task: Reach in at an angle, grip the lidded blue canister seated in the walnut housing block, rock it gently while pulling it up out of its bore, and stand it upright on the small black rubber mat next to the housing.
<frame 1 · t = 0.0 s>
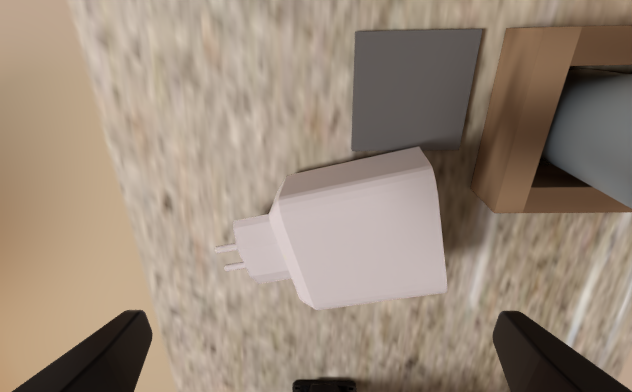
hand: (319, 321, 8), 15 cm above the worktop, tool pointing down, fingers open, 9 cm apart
rubber mat: (409, 94, 20), on the worktop
charger: (322, 220, 24), on the worktop, touching rubber mat
housing block: (566, 116, 20), on the worktop
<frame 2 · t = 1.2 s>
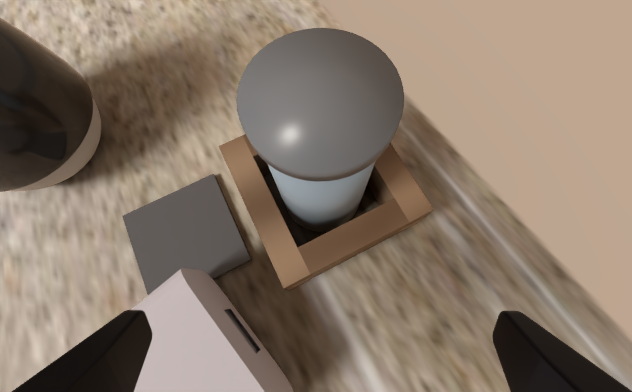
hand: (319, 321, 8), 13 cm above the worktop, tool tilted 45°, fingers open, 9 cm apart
rubber mat: (187, 238, 22), on the worktop
dark egg-shaped device: (62, 148, 25), on the worktop
housing block: (322, 194, 23), on the worktop
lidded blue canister: (321, 160, 17), in the housing block
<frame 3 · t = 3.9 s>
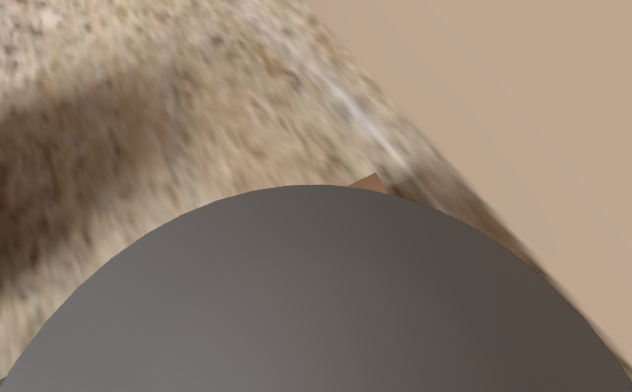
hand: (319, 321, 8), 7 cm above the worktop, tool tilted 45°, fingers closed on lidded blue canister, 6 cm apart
housing block: (322, 345, 14), on the worktop
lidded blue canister: (320, 376, 8), in the housing block, touching gripper
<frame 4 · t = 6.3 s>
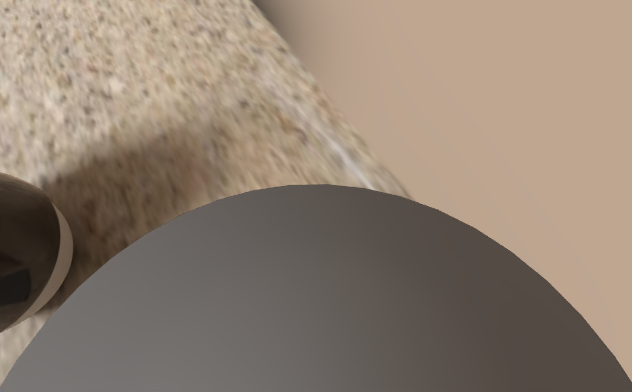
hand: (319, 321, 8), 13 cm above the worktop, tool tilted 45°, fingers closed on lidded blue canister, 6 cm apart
dark egg-shaped device: (31, 264, 22), on the worktop
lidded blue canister: (320, 376, 8), point 13 cm above the worktop, touching gripper
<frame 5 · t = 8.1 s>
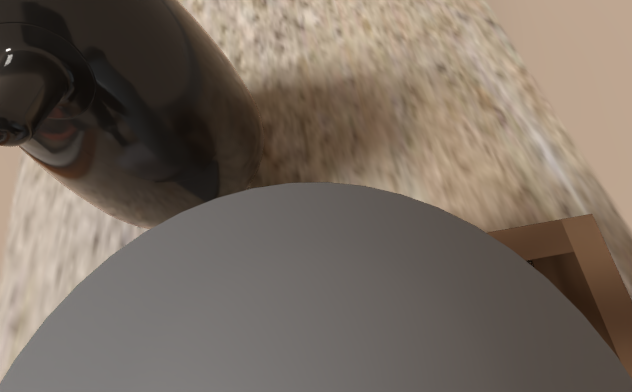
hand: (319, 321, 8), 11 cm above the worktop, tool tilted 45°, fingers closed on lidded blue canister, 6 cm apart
dark egg-shaped device: (201, 170, 22), on the worktop
housing block: (497, 326, 18), on the worktop
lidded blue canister: (320, 375, 8), point 11 cm above the worktop, touching gripper
when the fingers open (8 cm above the worktop, at t = 9.2 s): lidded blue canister stays where it is, resting on rubber mat.
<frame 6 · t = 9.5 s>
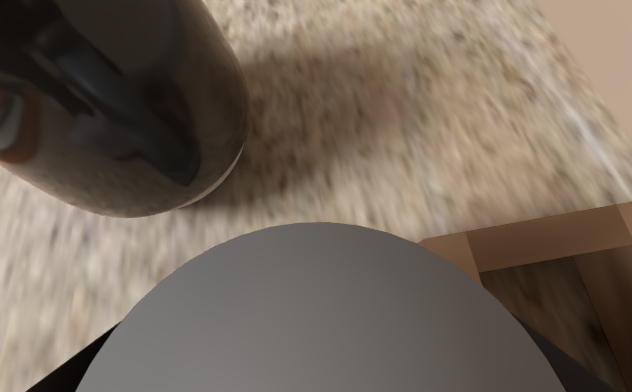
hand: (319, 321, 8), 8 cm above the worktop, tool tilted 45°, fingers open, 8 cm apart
dark egg-shaped device: (181, 152, 19), on the worktop
housing block: (534, 335, 15), on the worktop
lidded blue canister: (321, 372, 9), on the rubber mat
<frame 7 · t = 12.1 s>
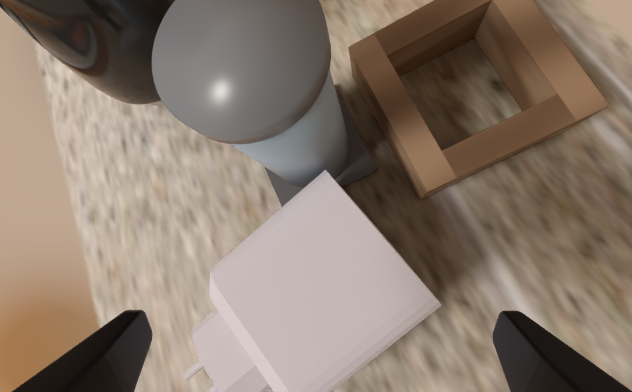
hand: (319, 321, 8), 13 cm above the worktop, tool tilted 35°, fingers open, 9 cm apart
rubber mat: (310, 149, 23), on the worktop
dark egg-shaped device: (183, 66, 26), on the worktop
charger: (295, 303, 21), on the worktop, touching rubber mat
housing block: (452, 100, 21), on the worktop
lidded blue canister: (285, 115, 16), on the rubber mat
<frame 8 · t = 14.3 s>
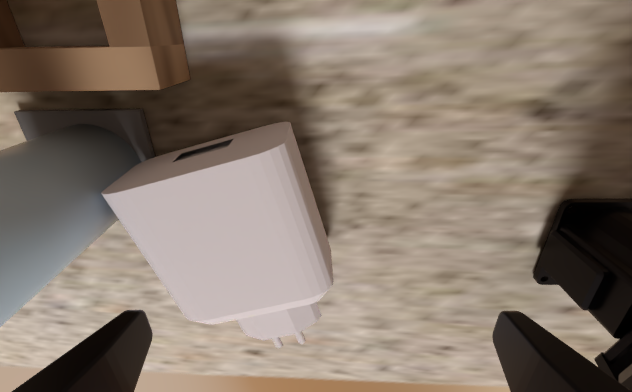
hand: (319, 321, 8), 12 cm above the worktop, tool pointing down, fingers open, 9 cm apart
rubber mat: (101, 167, 19), on the worktop
charger: (259, 240, 22), on the worktop, touching rubber mat
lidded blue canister: (10, 223, 14), on the rubber mat
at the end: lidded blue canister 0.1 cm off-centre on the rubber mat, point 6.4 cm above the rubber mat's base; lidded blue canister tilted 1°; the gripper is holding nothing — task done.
